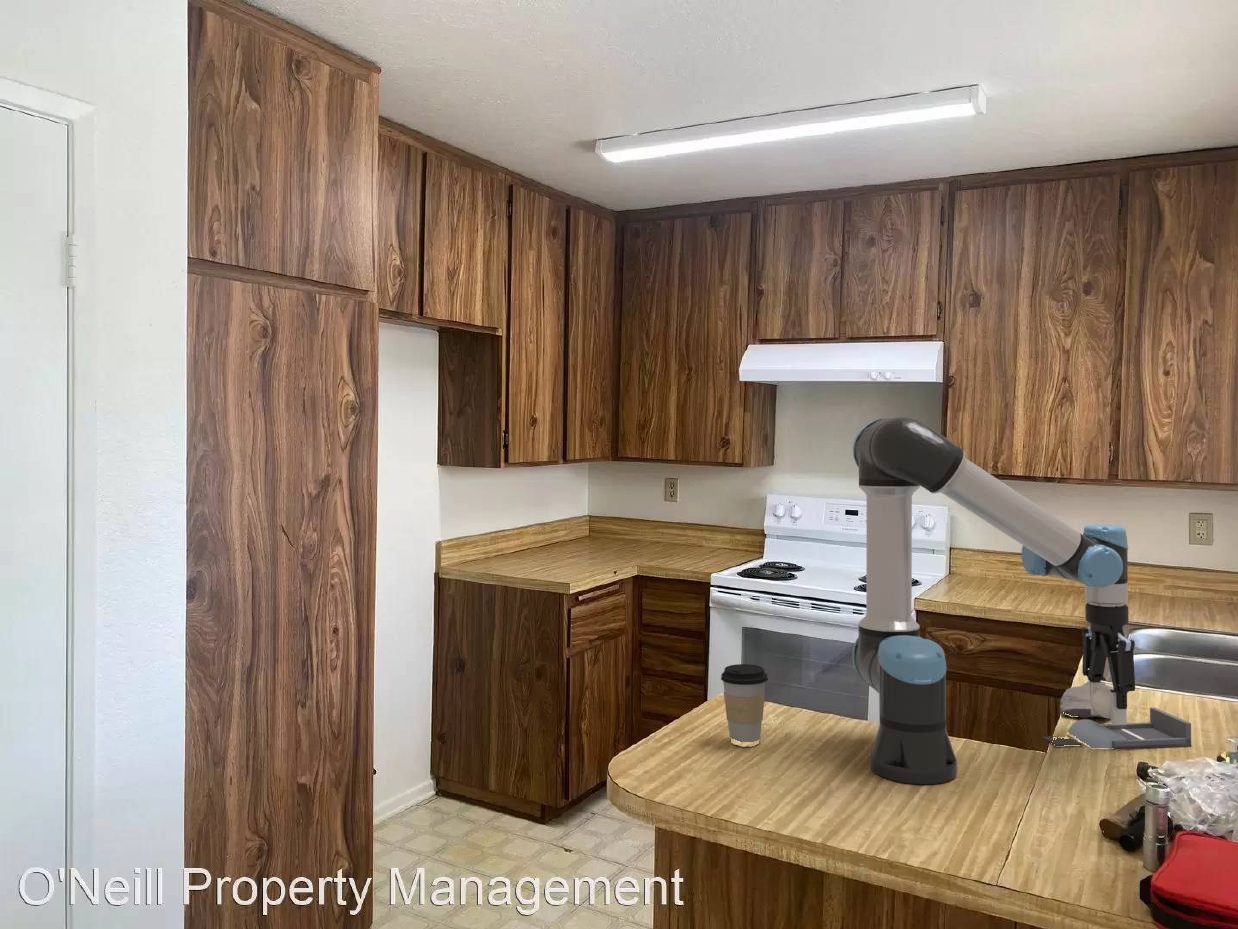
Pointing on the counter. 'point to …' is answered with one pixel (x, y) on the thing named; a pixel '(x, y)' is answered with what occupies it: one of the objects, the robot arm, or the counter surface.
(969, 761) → the counter surface
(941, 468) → the robot arm
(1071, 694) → the stone
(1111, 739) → the grey wedge
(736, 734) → the coffee cup
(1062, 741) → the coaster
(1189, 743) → the tray
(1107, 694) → the ball
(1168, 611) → the counter surface
